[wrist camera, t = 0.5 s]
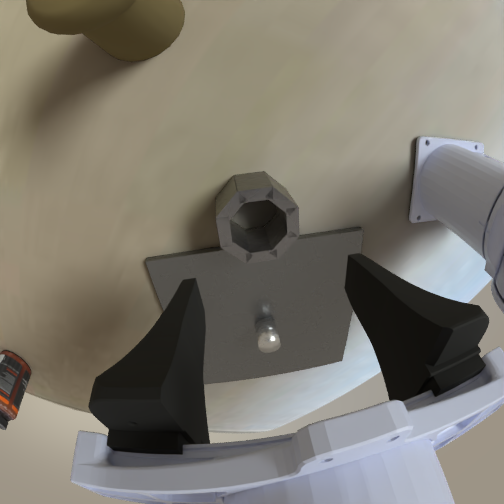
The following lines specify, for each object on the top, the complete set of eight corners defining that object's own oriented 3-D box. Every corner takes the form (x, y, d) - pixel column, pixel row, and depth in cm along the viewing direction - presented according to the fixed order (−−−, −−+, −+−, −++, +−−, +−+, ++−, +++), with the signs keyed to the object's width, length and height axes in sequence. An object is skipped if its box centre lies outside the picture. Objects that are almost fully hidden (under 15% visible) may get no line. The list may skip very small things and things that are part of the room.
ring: (284, 169, 20) (297, 184, 17) (288, 232, 23) (299, 256, 20) (212, 178, 20) (211, 194, 17) (222, 241, 22) (224, 267, 19)
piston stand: (360, 226, 23) (377, 245, 20) (340, 357, 33) (348, 377, 30) (146, 257, 22) (138, 281, 20) (195, 380, 32) (195, 402, 29)
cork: (156, 73, 15) (87, 54, 6) (85, 49, 13) (-18, 33, 4) (202, 1, 13) (190, -83, 3) (128, -21, 11) (63, -88, 1)
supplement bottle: (-4, 344, 26) (-31, 403, 17) (24, 354, 28) (-1, 420, 18) (9, 367, 29) (-12, 424, 20) (37, 378, 30) (18, 438, 21)
